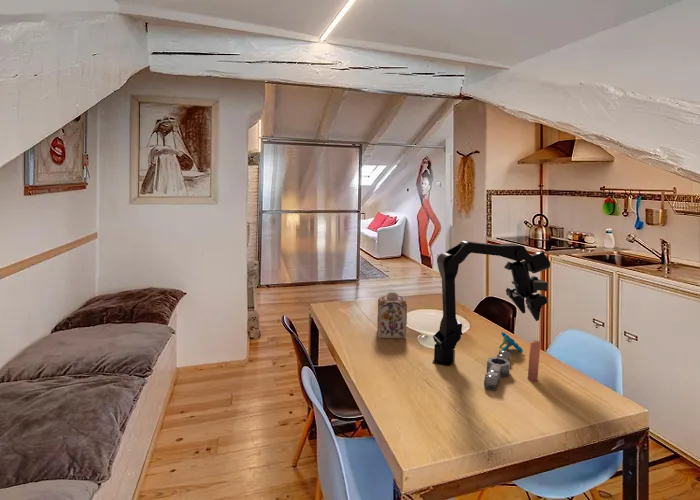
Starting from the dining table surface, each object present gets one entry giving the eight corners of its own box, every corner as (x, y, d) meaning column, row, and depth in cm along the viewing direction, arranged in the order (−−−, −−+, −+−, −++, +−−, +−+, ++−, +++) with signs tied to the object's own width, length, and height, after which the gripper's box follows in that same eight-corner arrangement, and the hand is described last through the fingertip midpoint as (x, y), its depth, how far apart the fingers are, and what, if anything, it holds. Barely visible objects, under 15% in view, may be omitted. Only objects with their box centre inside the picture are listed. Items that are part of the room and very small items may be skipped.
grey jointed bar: (478, 388, 134) (478, 375, 134) (494, 355, 160) (495, 345, 160) (501, 393, 131) (502, 380, 131) (514, 359, 157) (515, 348, 156)
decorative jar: (406, 339, 178) (407, 297, 175) (378, 338, 178) (379, 296, 175) (403, 329, 190) (404, 290, 187) (377, 329, 190) (377, 289, 187)
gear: (528, 352, 160) (509, 333, 159) (517, 363, 160) (498, 344, 159) (516, 345, 171) (498, 328, 170) (505, 356, 171) (488, 338, 170)
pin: (527, 380, 140) (529, 342, 138) (528, 376, 143) (530, 339, 141) (537, 382, 139) (539, 344, 137) (537, 378, 141) (540, 341, 140)
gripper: (557, 275, 145) (566, 317, 148) (528, 265, 164) (536, 303, 166) (527, 285, 144) (537, 327, 147) (501, 274, 163) (510, 312, 166)
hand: (530, 316), depth 157 cm, fingers open, 9 cm apart
